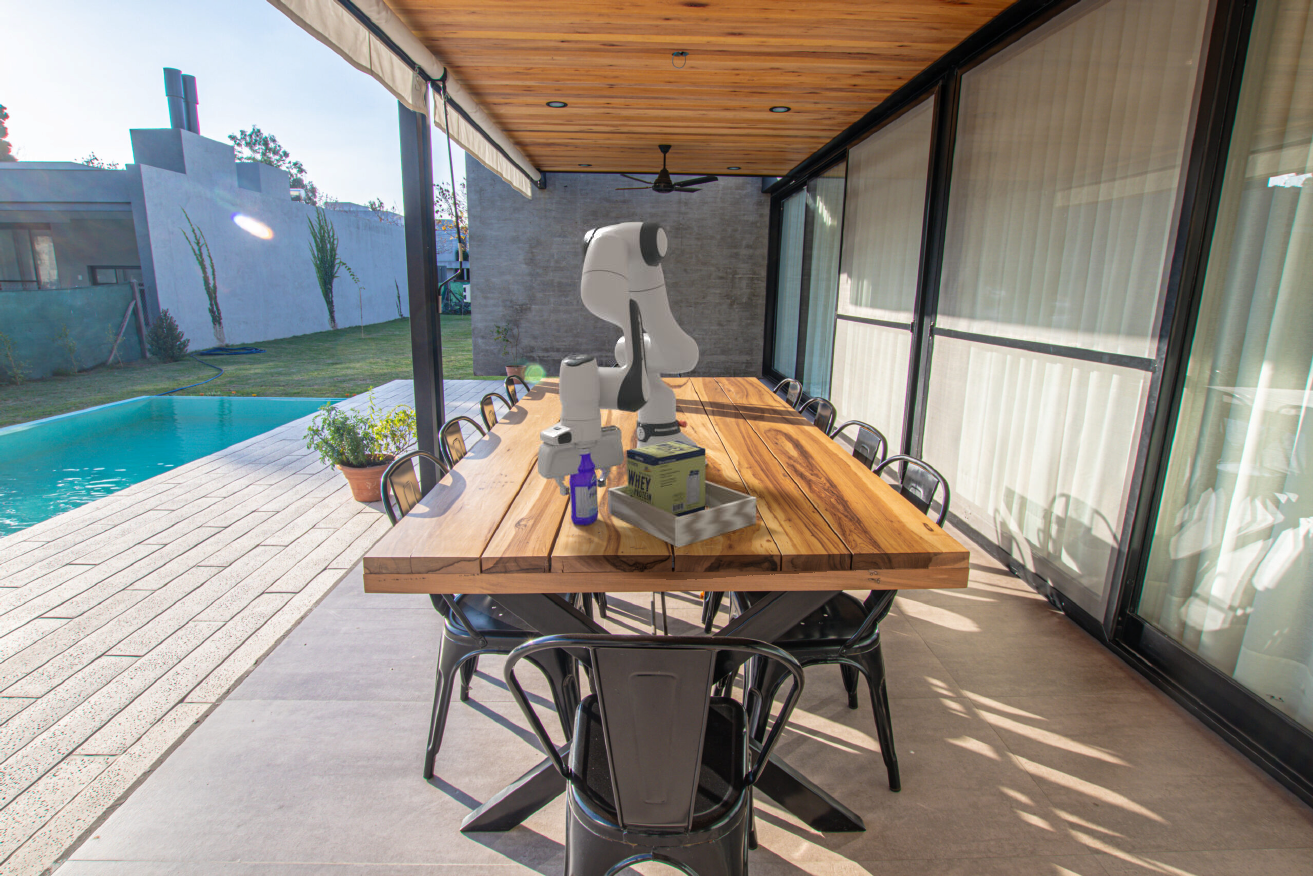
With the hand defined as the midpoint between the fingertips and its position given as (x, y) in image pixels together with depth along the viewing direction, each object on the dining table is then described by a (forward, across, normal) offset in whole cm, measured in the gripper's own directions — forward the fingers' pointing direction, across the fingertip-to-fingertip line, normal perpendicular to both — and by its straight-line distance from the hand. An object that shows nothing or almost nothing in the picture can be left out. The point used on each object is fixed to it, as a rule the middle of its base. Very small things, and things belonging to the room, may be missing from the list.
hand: (583, 490), depth 143 cm
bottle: (+8, 0, 0) cm, 8 cm away
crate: (+7, -18, +12) cm, 23 cm away
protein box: (+8, -18, +7) cm, 21 cm away
